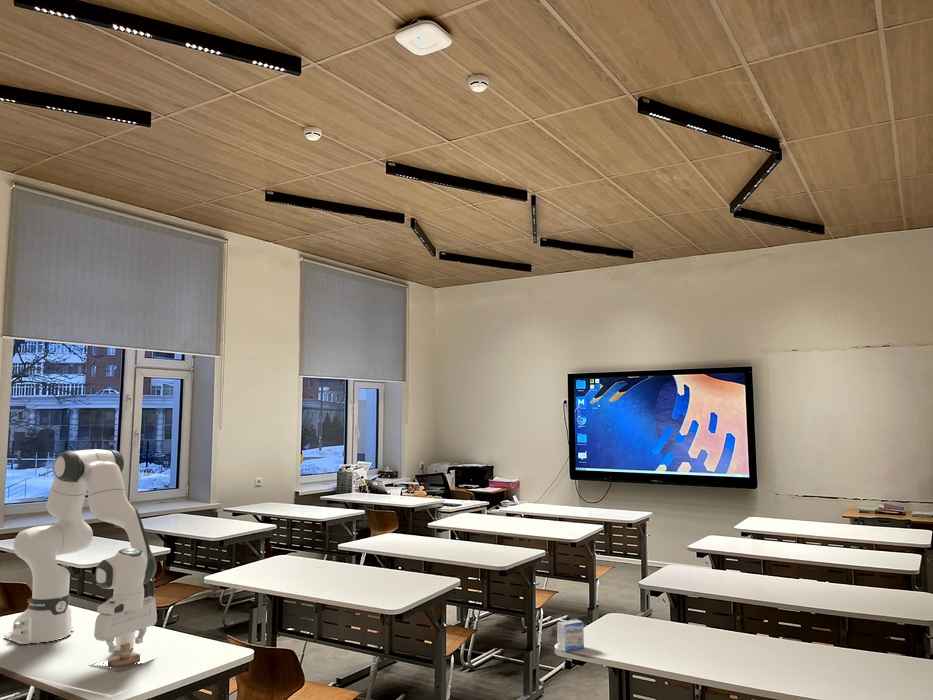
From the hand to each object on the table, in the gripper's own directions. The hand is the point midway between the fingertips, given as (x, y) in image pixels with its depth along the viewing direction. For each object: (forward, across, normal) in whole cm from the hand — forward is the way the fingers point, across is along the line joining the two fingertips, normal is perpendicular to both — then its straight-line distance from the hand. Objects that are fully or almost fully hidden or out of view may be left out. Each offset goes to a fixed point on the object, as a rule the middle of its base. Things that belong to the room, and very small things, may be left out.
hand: (125, 647), depth 210 cm
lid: (+4, 0, 0) cm, 4 cm away
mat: (+5, 0, 0) cm, 5 cm away
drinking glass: (+5, -9, -11) cm, 15 cm away
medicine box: (+6, -71, +124) cm, 143 cm away
